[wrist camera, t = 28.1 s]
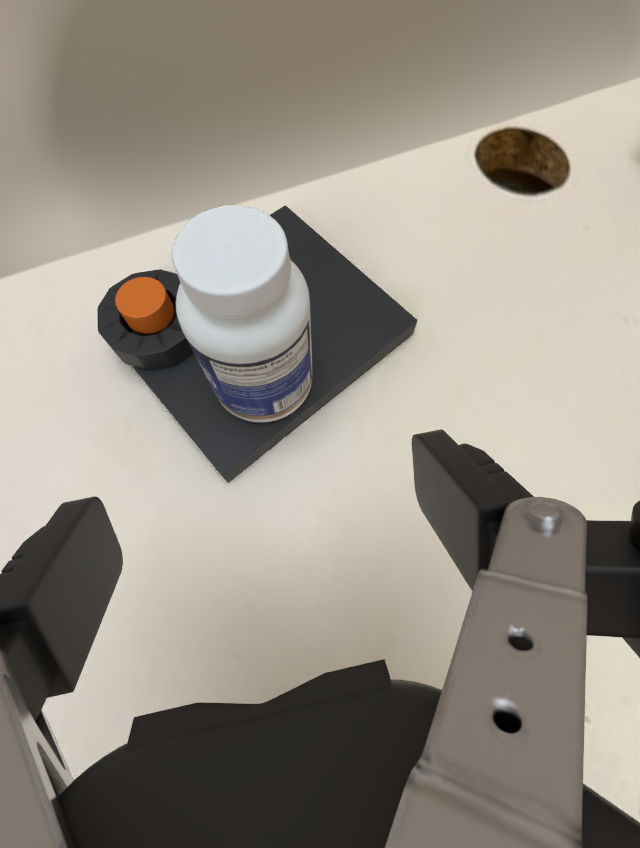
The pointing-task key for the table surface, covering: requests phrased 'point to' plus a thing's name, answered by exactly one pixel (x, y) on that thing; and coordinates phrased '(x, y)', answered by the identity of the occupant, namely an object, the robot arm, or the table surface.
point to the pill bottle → (245, 311)
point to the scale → (330, 340)
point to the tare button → (145, 305)
